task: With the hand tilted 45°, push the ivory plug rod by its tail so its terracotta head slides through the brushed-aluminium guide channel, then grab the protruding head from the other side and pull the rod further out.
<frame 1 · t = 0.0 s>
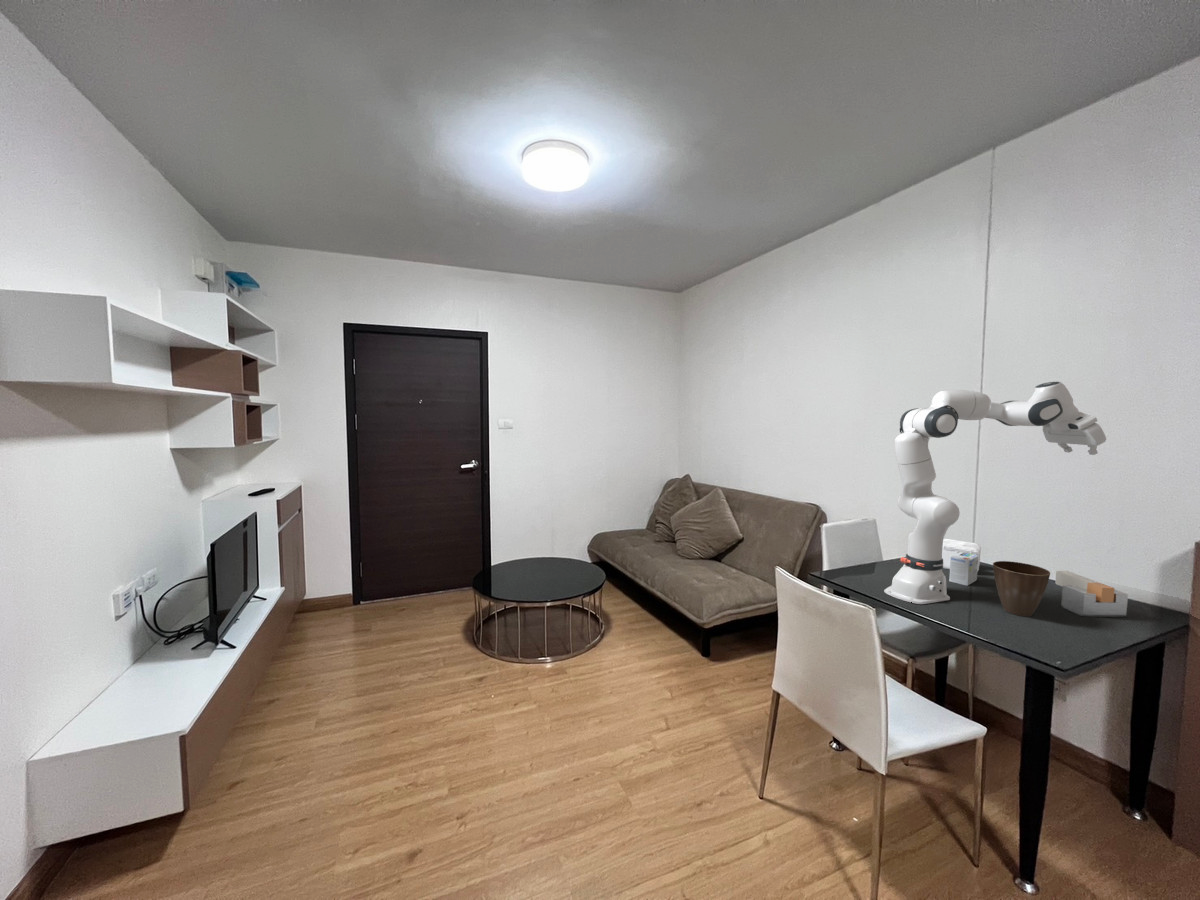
hand: (1081, 452, 176), 54 cm above the table, tool tilted 30°, fingers open, 8 cm apart
housing: (1092, 611, 164), on the table
light bulb box: (963, 581, 194), on the table
plug: (1083, 585, 167), point 8 cm above the table, slide at -4.0 cm
plant pot: (1017, 612, 164), on the table
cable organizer: (958, 569, 209), on the table
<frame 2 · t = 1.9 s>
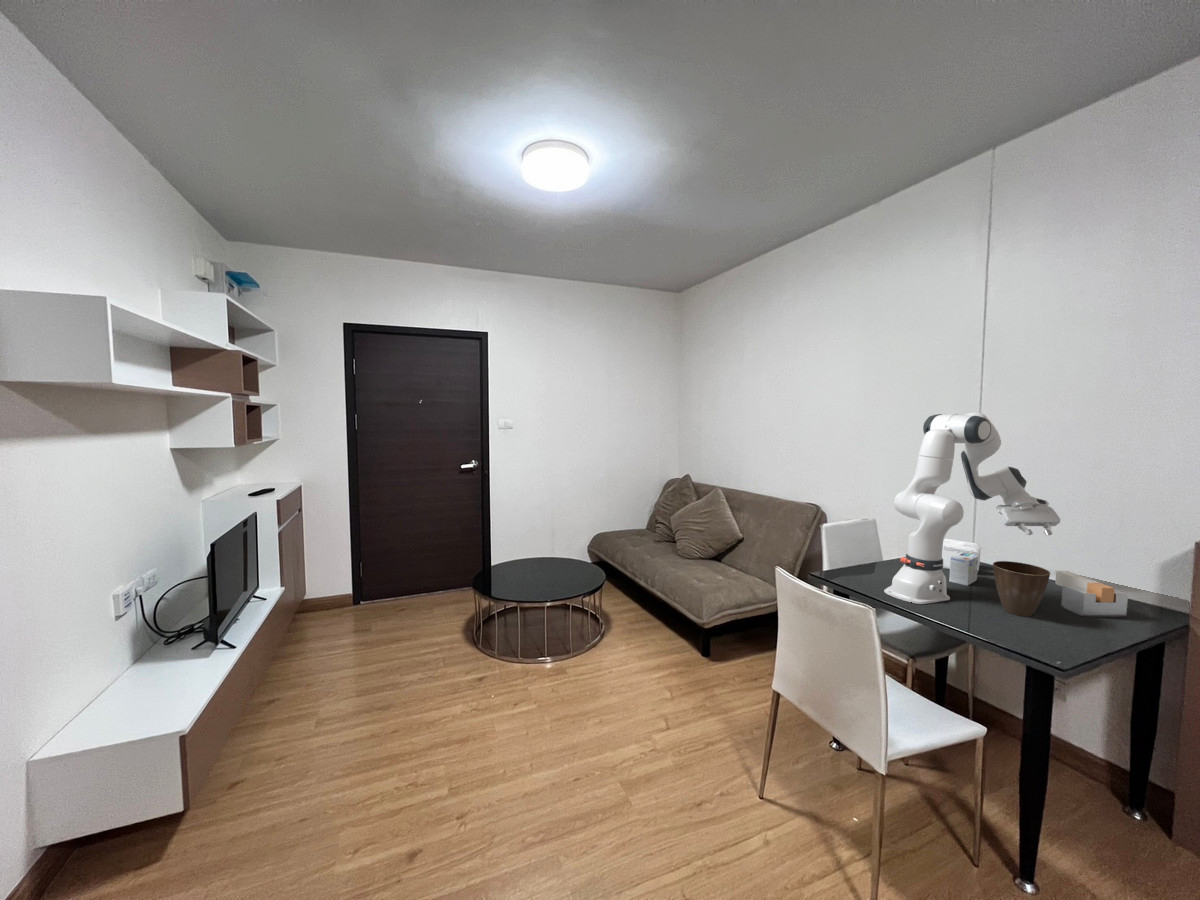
hand: (1039, 534, 185), 21 cm above the table, tool tilted 45°, fingers open, 6 cm apart
nothing on the table moved.
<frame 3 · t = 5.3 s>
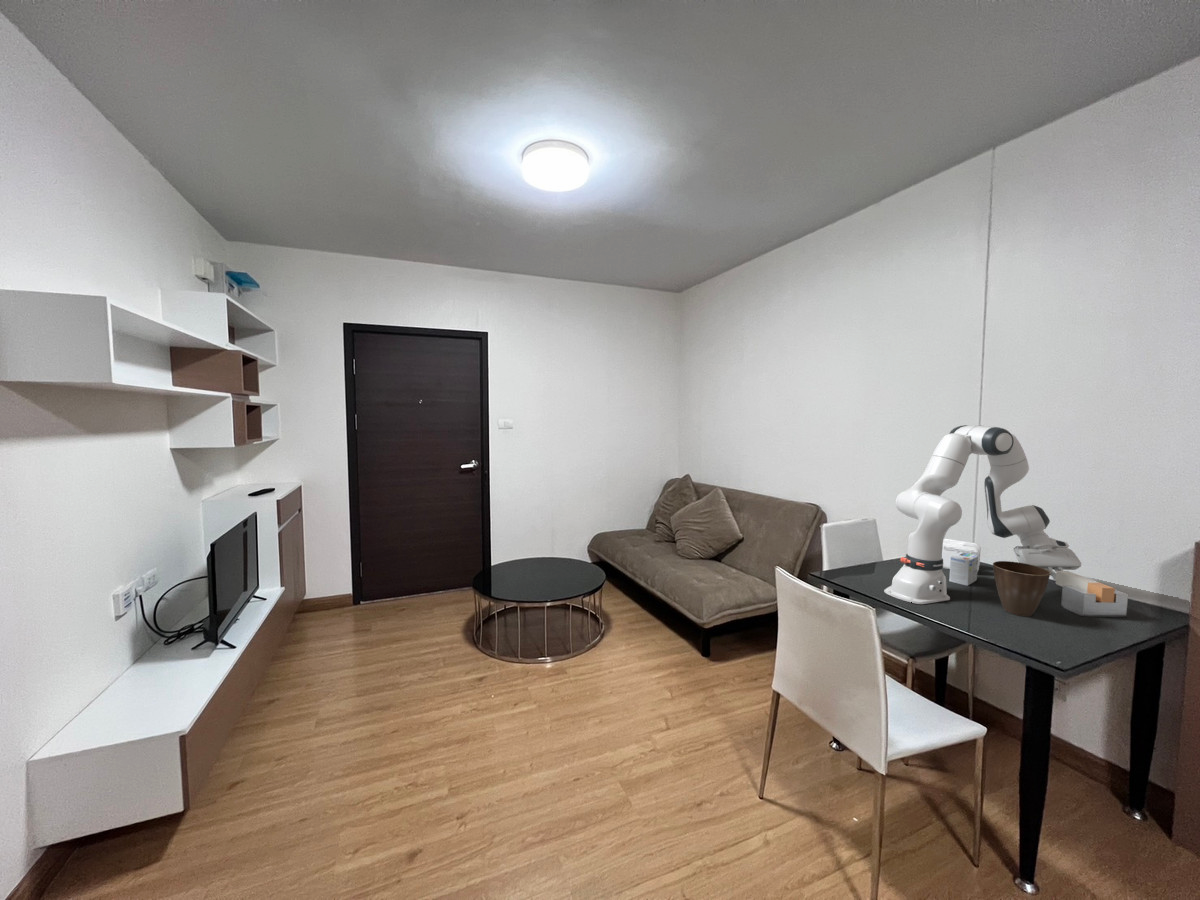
hand: (1059, 579, 176), 7 cm above the table, tool tilted 45°, fingers closed, pressing on plug
plug: (1083, 585, 167), point 8 cm above the table, slide at -3.9 cm, touching gripper
everything else where it was.
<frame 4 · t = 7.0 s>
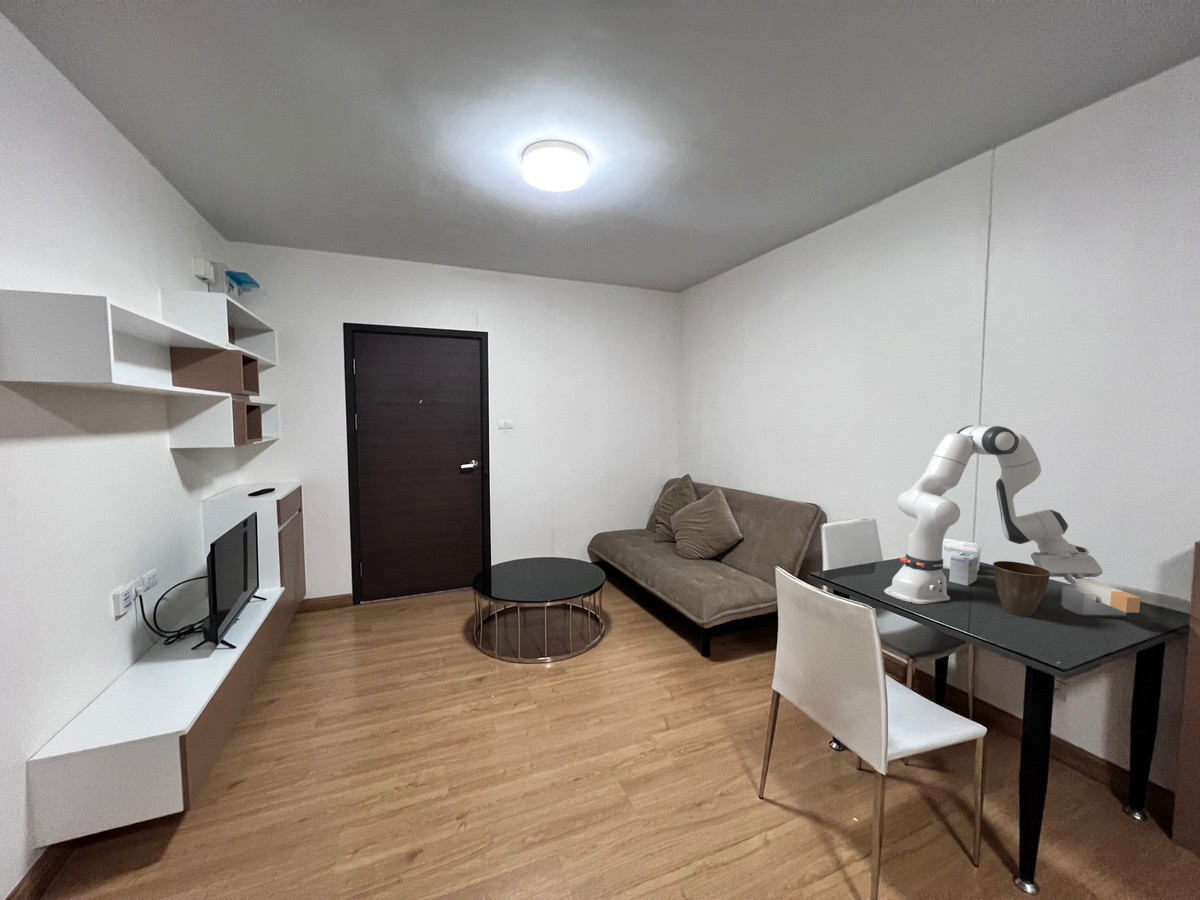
hand: (1080, 587, 168), 7 cm above the table, tool tilted 45°, fingers closed, pressing on plug
plug: (1106, 594, 159), point 8 cm above the table, slide at 4.1 cm, touching gripper
everything else where it was.
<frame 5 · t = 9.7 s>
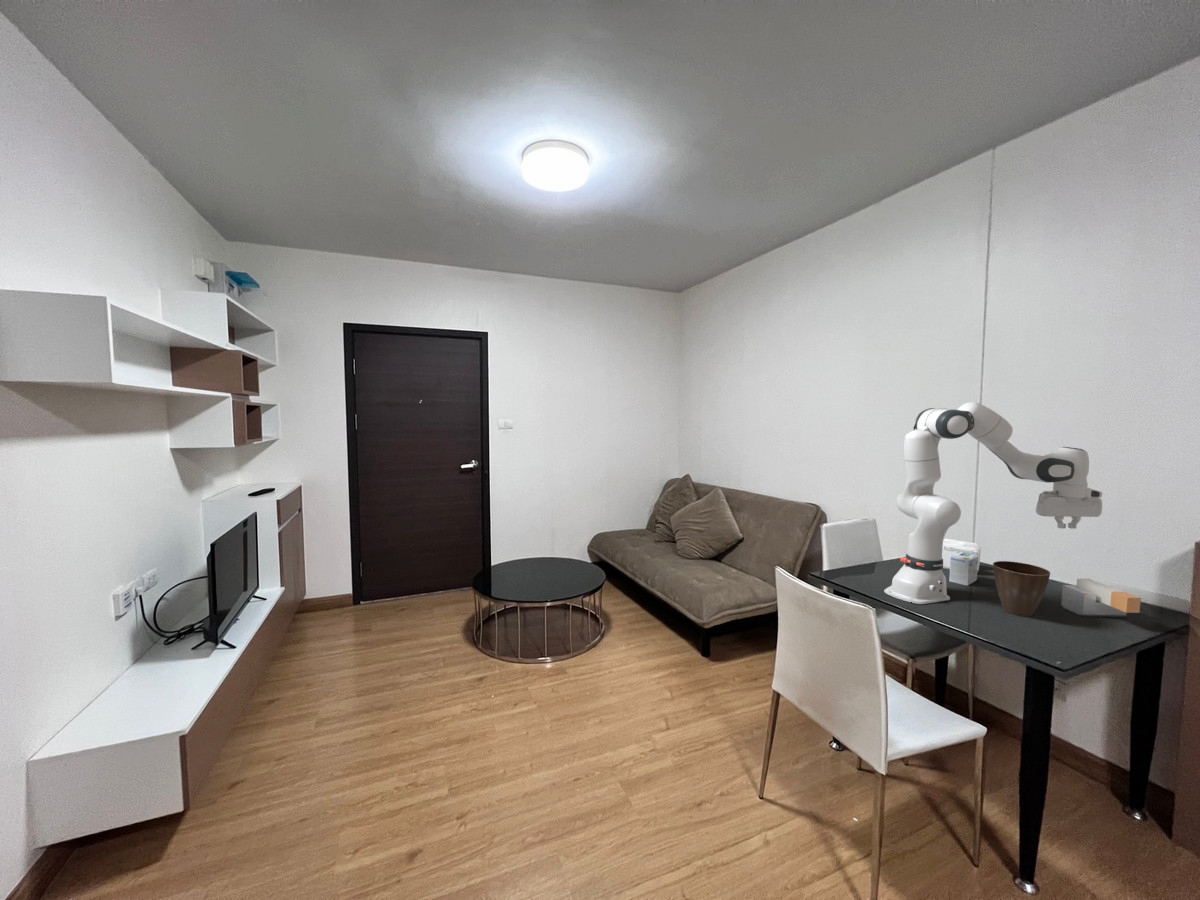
hand: (1066, 528, 173), 27 cm above the table, tool pointing down, fingers closed
plug: (1106, 594, 159), point 8 cm above the table, slide at 4.1 cm
everything else where it was.
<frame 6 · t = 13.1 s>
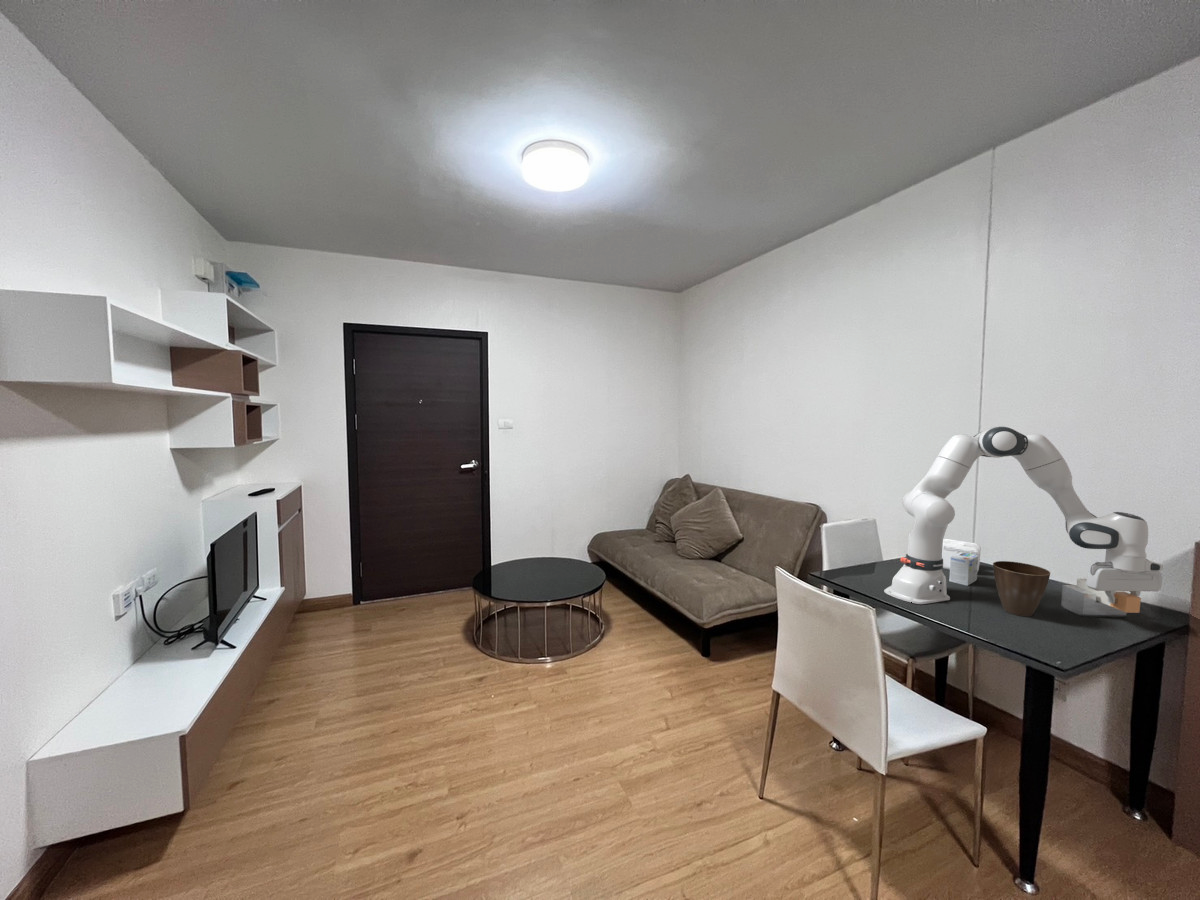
hand: (1121, 603, 154), 7 cm above the table, tool pointing down, fingers closed on plug, 4 cm apart
plug: (1106, 594, 159), point 8 cm above the table, slide at 4.1 cm, touching gripper
everything else where it was.
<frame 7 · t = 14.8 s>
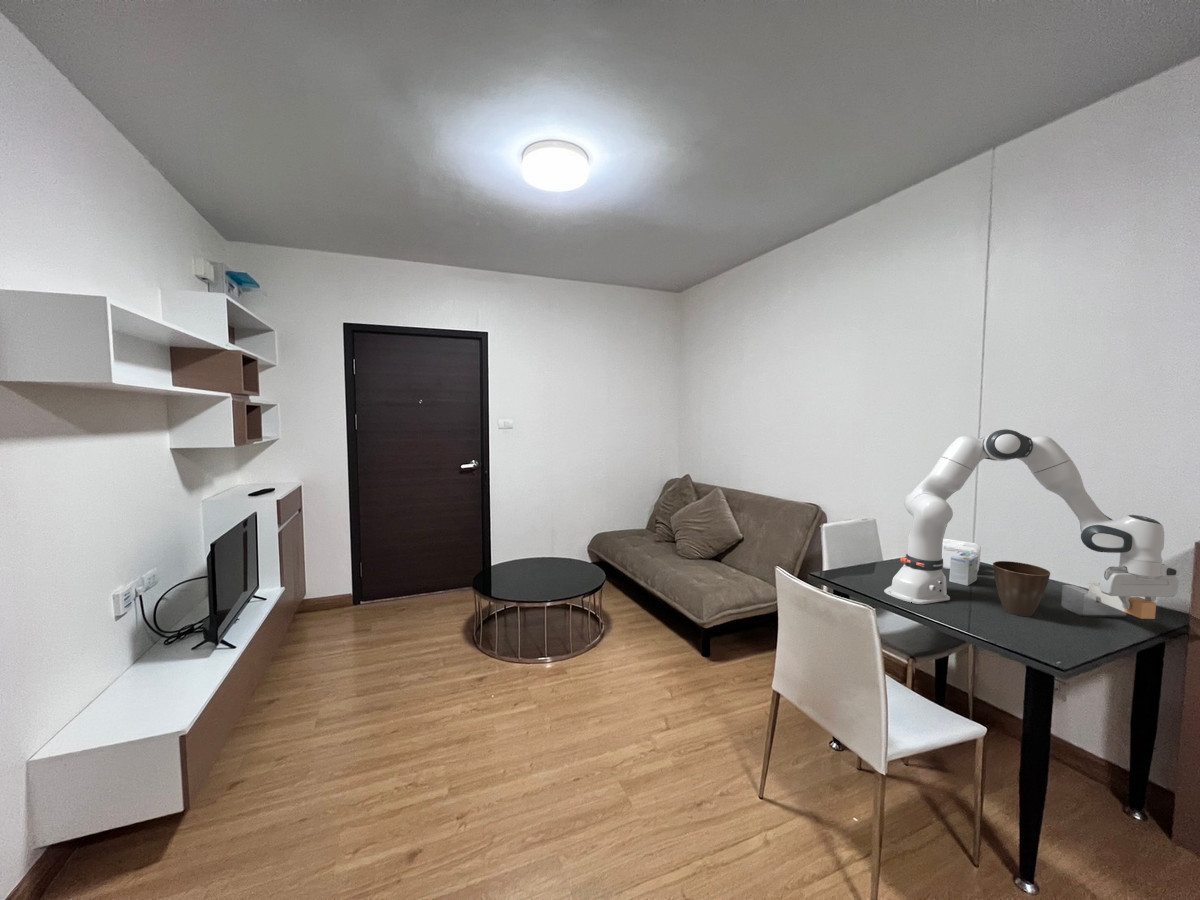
hand: (1135, 608, 150), 7 cm above the table, tool pointing down, fingers closed on plug, 4 cm apart
plug: (1120, 600, 155), point 8 cm above the table, slide at 8.6 cm, touching gripper
everything else where it was.
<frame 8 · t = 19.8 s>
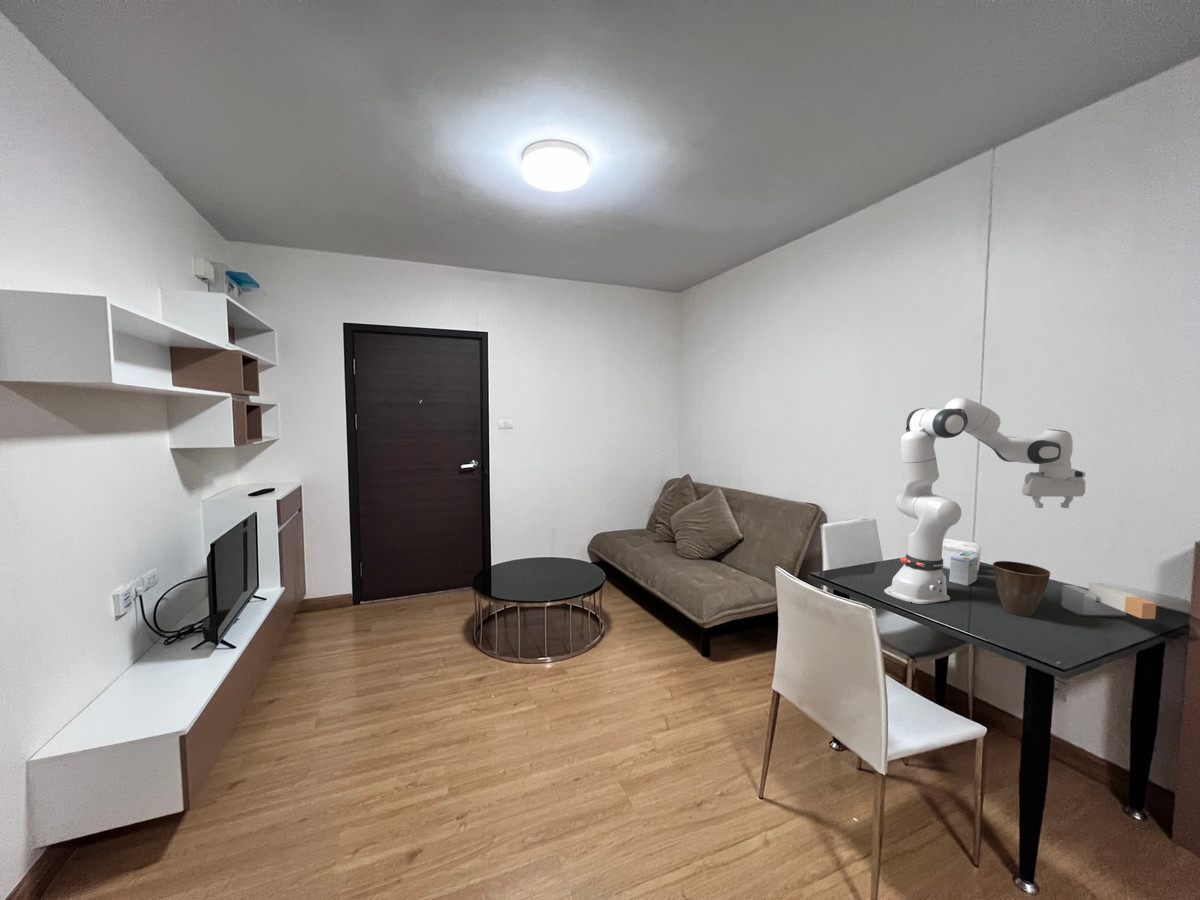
hand: (1051, 507, 179), 33 cm above the table, tool pointing down, fingers open, 8 cm apart
plug: (1120, 600, 155), point 8 cm above the table, slide at 8.6 cm
everything else where it was.
at the end: plug slide at 8.6 cm; the gripper is holding nothing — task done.
